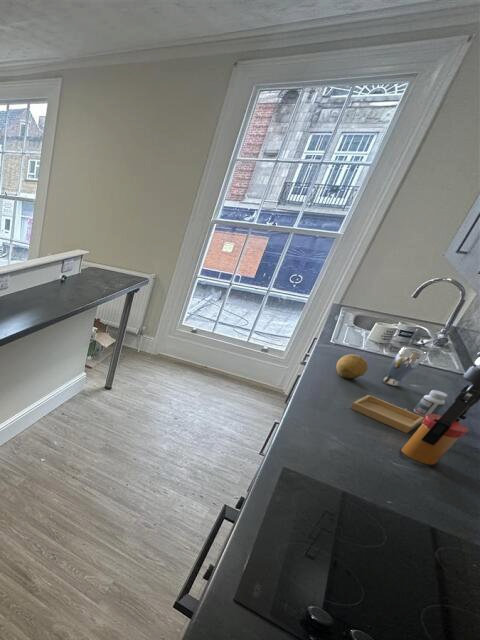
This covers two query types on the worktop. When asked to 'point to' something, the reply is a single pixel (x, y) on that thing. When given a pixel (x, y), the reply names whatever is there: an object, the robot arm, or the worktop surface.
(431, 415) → the lid
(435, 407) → the pill bottle
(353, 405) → the tray
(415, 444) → the jam jar
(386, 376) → the beer glass
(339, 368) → the potato
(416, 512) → the worktop surface
